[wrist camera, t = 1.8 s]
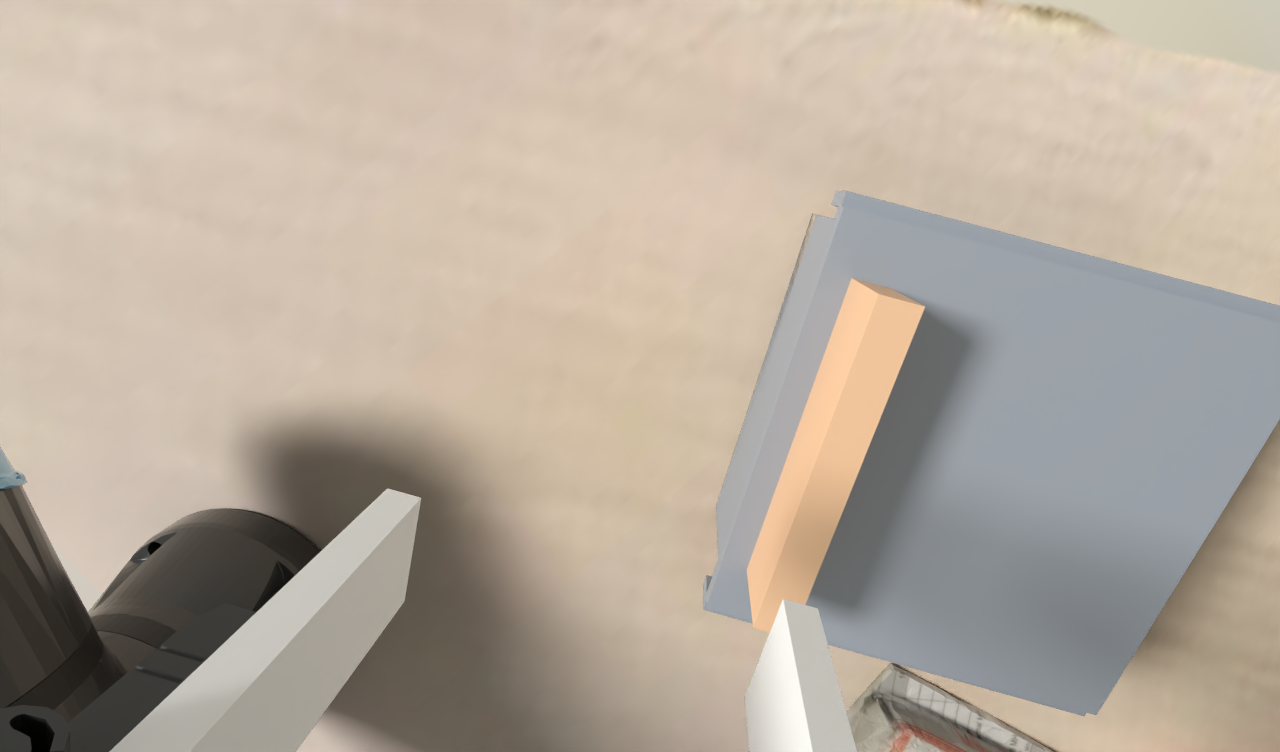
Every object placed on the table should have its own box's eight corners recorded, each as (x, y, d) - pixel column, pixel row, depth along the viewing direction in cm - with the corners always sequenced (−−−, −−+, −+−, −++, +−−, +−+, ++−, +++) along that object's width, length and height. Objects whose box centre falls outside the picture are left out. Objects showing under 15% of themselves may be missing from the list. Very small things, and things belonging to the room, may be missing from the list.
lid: (703, 584, 32) (703, 679, 26) (836, 190, 26) (877, 191, 20) (1061, 684, 32) (1147, 804, 26) (1281, 308, 26) (1464, 347, 19)
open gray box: (716, 506, 38) (719, 585, 31) (812, 213, 33) (845, 221, 25) (1001, 585, 38) (1076, 685, 30) (1147, 302, 32) (1283, 338, 25)
